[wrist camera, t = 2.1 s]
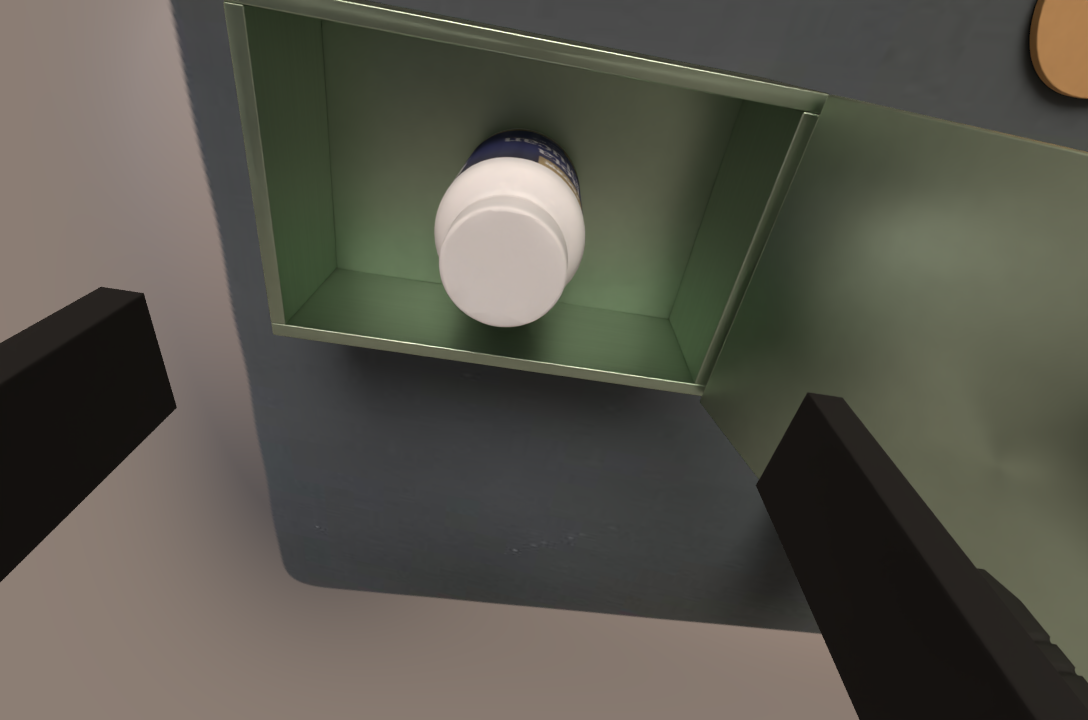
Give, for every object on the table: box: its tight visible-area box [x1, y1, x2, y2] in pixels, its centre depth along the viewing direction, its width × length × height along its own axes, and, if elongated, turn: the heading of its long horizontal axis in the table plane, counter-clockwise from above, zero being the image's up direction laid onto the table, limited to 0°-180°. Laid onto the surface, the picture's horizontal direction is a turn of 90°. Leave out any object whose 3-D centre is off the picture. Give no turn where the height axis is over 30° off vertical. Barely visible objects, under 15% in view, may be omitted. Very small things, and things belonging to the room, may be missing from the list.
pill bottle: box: [434, 128, 585, 327], centre depth 20 cm, size 5×5×10 cm
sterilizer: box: [224, 0, 829, 396], centre depth 21 cm, size 19×12×7 cm, turn 81°
